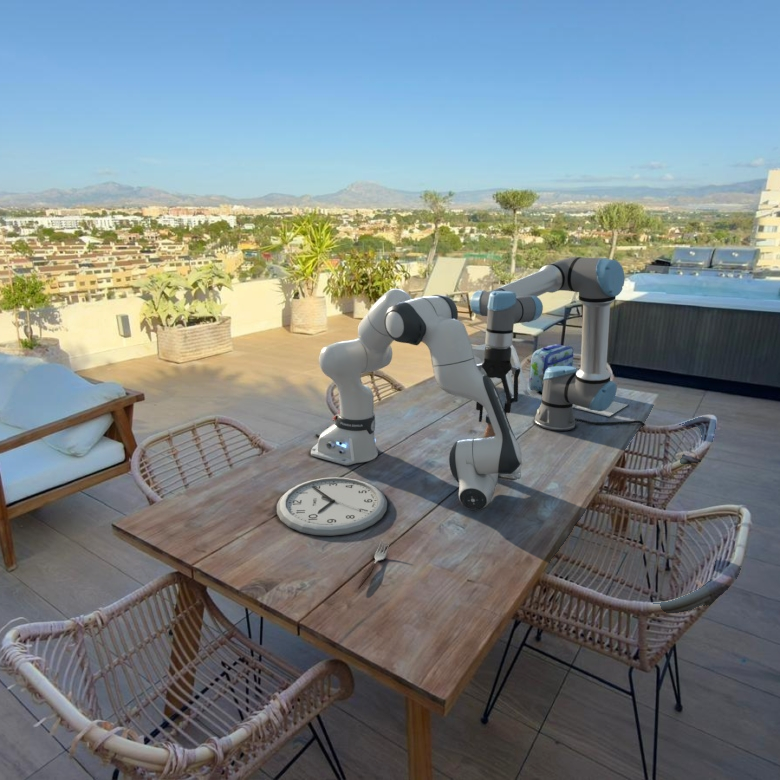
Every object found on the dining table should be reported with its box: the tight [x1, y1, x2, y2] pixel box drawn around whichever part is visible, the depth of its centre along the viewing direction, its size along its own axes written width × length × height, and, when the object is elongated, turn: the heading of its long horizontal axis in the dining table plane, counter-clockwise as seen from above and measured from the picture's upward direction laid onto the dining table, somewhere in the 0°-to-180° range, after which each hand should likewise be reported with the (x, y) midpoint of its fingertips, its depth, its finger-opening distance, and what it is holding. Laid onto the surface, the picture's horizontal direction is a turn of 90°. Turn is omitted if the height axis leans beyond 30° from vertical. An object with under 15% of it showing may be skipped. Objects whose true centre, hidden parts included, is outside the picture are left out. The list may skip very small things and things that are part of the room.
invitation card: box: [573, 400, 629, 418], centre depth 226 cm, size 21×1×15 cm
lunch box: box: [528, 344, 574, 393], centre depth 247 cm, size 26×11×21 cm, turn 134°
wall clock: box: [276, 476, 388, 537], centre depth 142 cm, size 30×2×30 cm
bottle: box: [483, 423, 495, 438], centre depth 159 cm, size 4×4×19 cm
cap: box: [485, 413, 491, 424], centre depth 156 cm, size 4×4×2 cm
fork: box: [357, 541, 391, 589], centre depth 116 cm, size 3×16×2 cm, turn 160°
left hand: (489, 455), depth 161 cm, fingers closed on bottle, 4 cm apart
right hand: (492, 421), depth 157 cm, fingers open, 6 cm apart
